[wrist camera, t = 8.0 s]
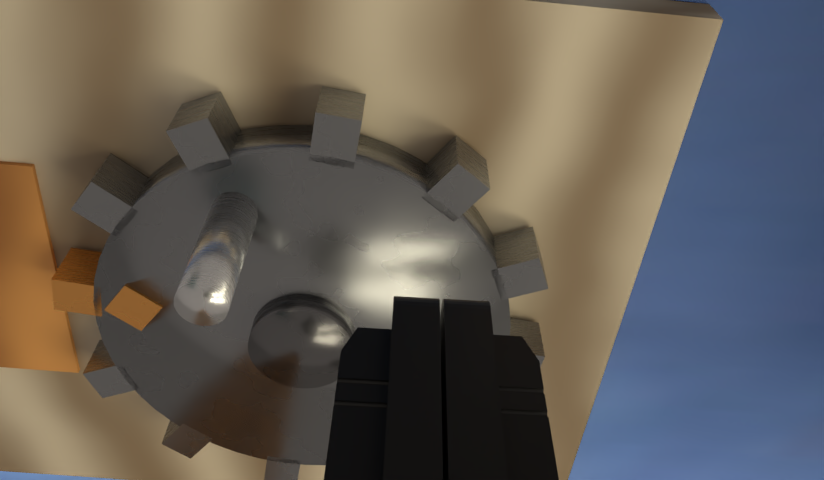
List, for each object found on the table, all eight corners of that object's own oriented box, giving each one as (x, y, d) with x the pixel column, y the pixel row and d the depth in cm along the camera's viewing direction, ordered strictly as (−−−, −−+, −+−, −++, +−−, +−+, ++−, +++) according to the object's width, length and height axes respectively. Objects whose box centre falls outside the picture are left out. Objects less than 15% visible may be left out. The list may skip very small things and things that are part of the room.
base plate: (709, 4, 26) (725, 21, 24) (553, 484, 41) (558, 512, 40) (-210, -87, 24) (-248, -74, 23) (-20, 444, 40) (-36, 471, 38)
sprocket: (249, -34, 24) (193, 54, 18) (641, 286, 31) (691, 421, 25) (-9, 313, 32) (-102, 447, 26) (347, 501, 39) (334, 638, 34)
